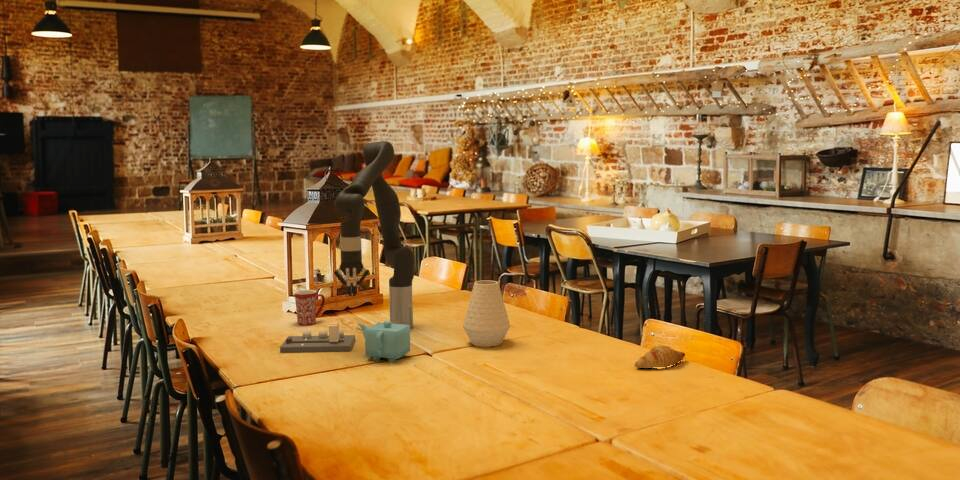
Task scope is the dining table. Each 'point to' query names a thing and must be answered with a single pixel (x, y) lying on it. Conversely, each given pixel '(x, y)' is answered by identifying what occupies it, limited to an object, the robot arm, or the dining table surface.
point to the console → (317, 343)
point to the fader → (333, 332)
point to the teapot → (386, 340)
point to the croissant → (659, 357)
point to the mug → (307, 306)
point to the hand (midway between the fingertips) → (352, 295)
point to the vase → (486, 315)
